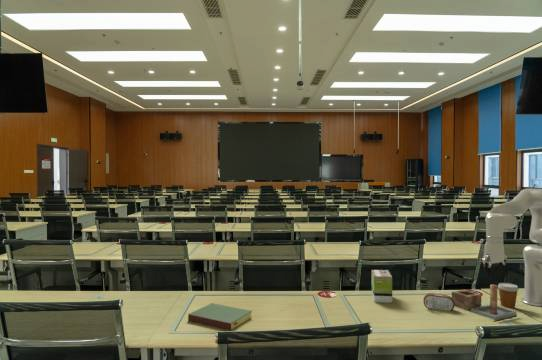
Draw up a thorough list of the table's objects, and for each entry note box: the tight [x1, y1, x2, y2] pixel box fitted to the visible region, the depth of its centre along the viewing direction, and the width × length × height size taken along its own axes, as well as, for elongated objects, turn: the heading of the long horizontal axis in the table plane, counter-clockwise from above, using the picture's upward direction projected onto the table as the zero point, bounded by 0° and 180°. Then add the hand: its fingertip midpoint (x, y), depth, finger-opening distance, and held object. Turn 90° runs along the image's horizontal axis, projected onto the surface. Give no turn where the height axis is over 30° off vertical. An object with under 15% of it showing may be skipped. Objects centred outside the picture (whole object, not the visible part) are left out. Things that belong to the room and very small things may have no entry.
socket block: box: [451, 289, 482, 312], centre depth 215 cm, size 10×10×8 cm
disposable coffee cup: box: [497, 282, 519, 310], centre depth 216 cm, size 10×10×12 cm
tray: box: [470, 304, 517, 323], centre depth 205 cm, size 16×13×2 cm
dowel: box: [489, 284, 498, 314], centre depth 205 cm, size 3×3×14 cm
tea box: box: [371, 269, 393, 304], centre depth 231 cm, size 15×10×15 cm, turn 172°
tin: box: [423, 292, 456, 312], centre depth 211 cm, size 15×3×8 cm, turn 65°
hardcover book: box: [187, 302, 253, 331], centre depth 197 cm, size 25×19×4 cm
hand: (494, 273), depth 205 cm, fingers open, 9 cm apart
